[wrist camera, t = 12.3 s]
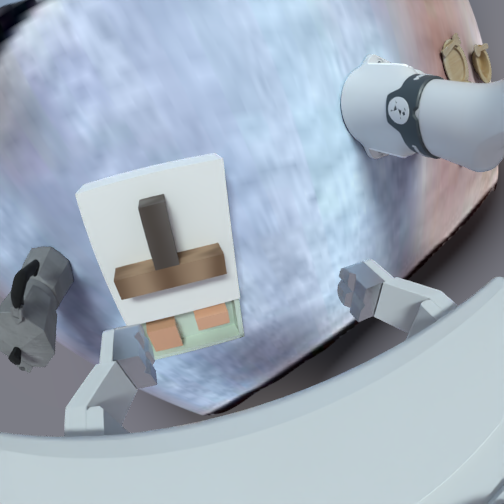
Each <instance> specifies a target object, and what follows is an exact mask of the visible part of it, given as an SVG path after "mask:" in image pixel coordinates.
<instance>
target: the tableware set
mask: <svg viewBox="0 0 504 504" xmlns="http://www.w3.org/2000/svg"><path fill="white" fill-rule="evenodd" d="M459 39H460V38H459V37H458V34H457V33H455V34H454V35H453V36H452V40H451V39H449V40H447V41H446V42H445V43H444V45H443V50H442V51H441V53H442V55H443V64H444V68H445V72H446V74H447V77H448V79H449V80H451V81H460V82H470V81H468V77H469V71H468V64H467V60H466V57H465V54H464V52H463V50H462V48H461V47H460V44H461V41H460V40H459ZM485 49H488V44H487V43H484V44H483V45H474V52H473V55H472V61H473V66H474V69H475V71H476V73H477V74H479V76H480V78H481V80H482V81H483V82H484V83H489V82H490V80H491V64H490V60H489V57H488V54H487V52H486V50H485ZM470 83H472V82H470Z"/></svg>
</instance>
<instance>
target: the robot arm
mask: <svg viewBox="0 0 504 504" xmlns="http://www.w3.org/2000/svg"><path fill="white" fill-rule="evenodd" d="M341 109H342V115H343V119H344V122H345V124H346V126H347V128H348V130H349V132H350V133H351V134H352V136H353V137H354V138H355V139H356V140H357V141H359V142H360V143H361V144H362V145H363V146H364V149H365V151H366V153H367V155H368V156H369V157H370V158H372V159H378V158H381V157H384V156H387V155H394V156H397V157H401V158H407V156H411V155H413V154H415V153H418V154H420V155H422V156H425V157H429V158H430V157H431V158H435V159H439V158H442V159H445V160H448V161H450V162H453V163H455V164H458V165H460V166H463V167H465V168H468V169H470V170H472V171H475V172H485V171H489V170H492V169H493V168H495V167H496V166H497V165H498V164H499V163H500V161H501V160H502V159H503V157H504V79H502V80H499V81H497V82H492V83H470V82H460V81H451V80H444V79H443V78H441V77H439V76H433V75H430V74H424V73H423V72H422V71H419V70H414V68H413V67H411V66H408V65H406V64H397V63H391V62H389V61H387V60H385V59H383V58H381V57H379V56H377V55H374V54H369V55H367V57H366V58H365V60H364V62H363V64H362V65H361V66H360V67H359V68H357V69H356V70H354V71H353V72H352V73H351V74H350V75H349V76H348V78H347V79H346V81H345V83H344V86H343V90H342V95H341ZM339 277H340V278H341V281H340V283H339V284H338V296H339V299H340V301H341V302H342V303H343V305H345V306H347V307H350V313H351V314H352V315H353V316H354V317H355V319H356V320H357V321H358V322H359V321H362V320H364V319H367V318H369V317H372V316H374V317H376V318H378V319H380V320H382V321H384V322H386V323H388V324H390V325H392V326H394V327H396V328H399V329H400V330H403V331H405V332H407V333H409V334H408V336H407V338H406V340H405V341H403V342H402V343H400V344H398V345H396V346H395V347H393V348H391V349H389V350H388V351H386V352H384V353H382V354H380V355H378V356H376V357H374V358H373V359H371V360H369V361H367V362H365V363H363V364H361V365H359V366H356V367H355V368H352V369H350V370H348V371H346V372H344V373H342V374H339V375H338V376H335V377H333V378H330V379H328V380H326V381H324V382H321V383H319V384H317V385H314V386H311V387H309V388H307V389H304V390H302V391H299V392H296V393H294V394H291V395H288V396H285V397H283V398H280V399H277V400H274V401H271V402H268V403H265V404H262V405H259V406H256V407H252V408H249V409H246V410H242V411H239V412H235V413H232V414H228V415H225V416H221V417H217V418H213V419H209V420H204V421H200V422H195V423H190V424H186V425H181V426H175V427H170V428H164V429H158V430H151V431H144V432H137V433H130V432H128V431H127V430H126V429H125V428H124V427H122V424H123V421H124V419H125V417H126V414H127V412H128V410H129V408H130V405H131V403H132V401H133V399H134V396H135V394H136V392H137V389H139V388H144V387H149V386H154V385H157V378H156V370H155V369H154V367H153V363H154V362H155V359H154V353H153V349H152V346H151V343H150V341H149V339H148V338H147V337H145V336H144V329H143V327H142V325H141V324H134V325H129V326H124V327H119V328H115V329H110V330H104V331H103V333H102V340H101V350H100V362H99V364H96V365H95V367H94V368H93V369H92V371H91V372H90V374H89V375H88V376H87V378H86V379H85V381H84V382H83V383H82V385H81V386H80V388H79V389H78V391H77V392H76V394H75V395H74V397H73V398H72V399H71V401H70V402H69V404H68V405H67V407H66V413H65V431H64V437H53V436H52V437H51V436H33V435H21V434H12V433H5V432H0V504H504V278H502V277H495V278H493V279H492V280H491V281H490V282H489V283H487V284H486V285H485V286H483V287H482V288H481V289H480V290H479V291H477V292H476V293H475V294H474V295H472V296H471V297H469V298H468V299H467V300H466V301H464V302H463V303H461V304H460V305H459V306H457V305H456V304H455V303H454V302H453V301H452V300H451V299H450V298H449V297H447V296H446V295H445V294H444V293H443V292H442V291H440V290H436V289H434V288H431V287H427V286H424V285H420V284H417V283H414V282H411V281H408V280H405V279H401V278H398V277H396V278H394V277H393V276H391V275H390V274H389V273H388V272H387V271H386V270H385V269H383V268H382V267H381V266H380V265H379V264H378V263H376V262H375V261H374V260H372V259H368V260H365V261H362V262H360V263H357V264H354V265H351V266H348V267H345V268H342V269H341V271H340V274H339Z"/></svg>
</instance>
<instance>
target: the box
mask: <svg viewBox="0 0 504 504" xmlns="http://www.w3.org/2000/svg"><path fill="white" fill-rule="evenodd" d="M225 305H226V308H227V310H228V314H229V320H230V323H226V324H223V325H219V326H215V327H212V328H208V329H204V330H200V331H199V329H198V326H197V322H196V319H195V315H194V312H193V311H191V312H187V313H183V314H179V315H175V316H174V317H175V320H176V323H177V326H178V328H179V331H180V334H181V337H182V342H183V345H182V346H178V347H174V348H170V349H166V350H162V351H157V352H156V350H155V348H154V346H153V344H152V342H151V340H150V338H149V336H148V334H147V329H146V323H142V324H141V325H142V327H143V329H144V336H145V337H147V338H148V339H149V341H150V343H151V346H152V349H153V353H154V359H155V360H156V359H161V358H165V357H169V356H173V355H178V354H182V353H186V352H190V351H194V350H198V349H201V348H205V347H209V346H213V345H216V344H220V343H223V342H227V341H230V340H234V339H237V338H241V337H244V330H243V323H242V317H241V309H240V302H239V299H236V300H232V301H229V302H225Z"/></svg>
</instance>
